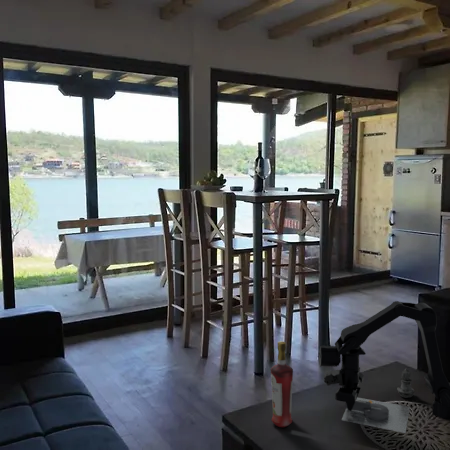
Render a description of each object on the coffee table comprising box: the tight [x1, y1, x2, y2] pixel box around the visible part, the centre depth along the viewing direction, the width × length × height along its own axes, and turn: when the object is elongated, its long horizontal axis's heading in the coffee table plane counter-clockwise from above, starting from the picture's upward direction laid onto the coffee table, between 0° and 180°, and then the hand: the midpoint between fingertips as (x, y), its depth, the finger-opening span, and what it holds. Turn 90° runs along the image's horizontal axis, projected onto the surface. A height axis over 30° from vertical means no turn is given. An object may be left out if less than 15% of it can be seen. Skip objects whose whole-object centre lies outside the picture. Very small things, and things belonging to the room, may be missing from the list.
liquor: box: [270, 340, 294, 428], centre depth 158 cm, size 7×7×28 cm
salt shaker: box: [397, 367, 415, 399], centre depth 174 cm, size 6×6×12 cm
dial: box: [345, 400, 389, 421], centre depth 163 cm, size 14×8×4 cm, turn 65°
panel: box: [341, 396, 411, 434], centre depth 163 cm, size 20×18×1 cm
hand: (349, 410), depth 163 cm, fingers closed
